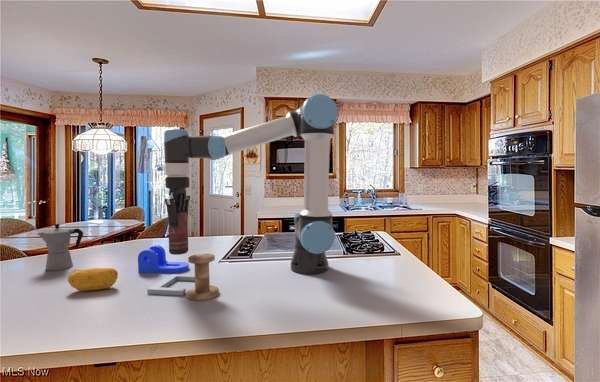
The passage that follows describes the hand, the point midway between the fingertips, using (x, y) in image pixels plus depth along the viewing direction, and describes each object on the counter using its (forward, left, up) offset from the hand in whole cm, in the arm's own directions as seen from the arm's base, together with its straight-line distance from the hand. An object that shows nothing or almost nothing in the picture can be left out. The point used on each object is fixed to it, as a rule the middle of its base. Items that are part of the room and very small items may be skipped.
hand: (179, 245), depth 110 cm
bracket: (+15, -17, -14) cm, 27 cm away
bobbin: (-11, +6, -14) cm, 19 cm away
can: (0, 0, -3) cm, 3 cm away
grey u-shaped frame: (+1, 0, -14) cm, 14 cm away
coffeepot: (+59, -15, -14) cm, 63 cm away
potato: (+27, +6, -14) cm, 32 cm away
